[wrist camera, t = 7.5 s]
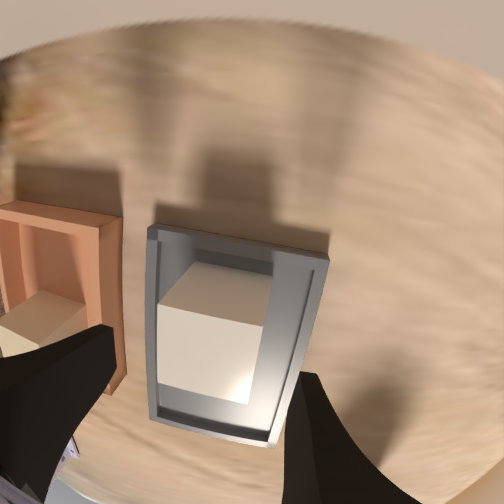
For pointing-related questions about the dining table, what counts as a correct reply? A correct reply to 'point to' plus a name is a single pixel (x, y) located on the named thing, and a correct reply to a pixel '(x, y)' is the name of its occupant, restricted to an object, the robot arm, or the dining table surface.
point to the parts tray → (272, 340)
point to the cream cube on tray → (212, 330)
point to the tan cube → (40, 323)
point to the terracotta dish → (65, 263)
